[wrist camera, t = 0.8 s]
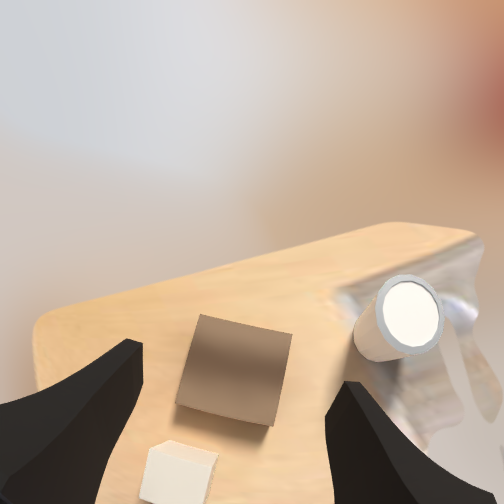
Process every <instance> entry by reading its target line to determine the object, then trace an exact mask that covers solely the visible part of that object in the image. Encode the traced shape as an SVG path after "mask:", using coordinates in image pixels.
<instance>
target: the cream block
mask: <svg viewBox="0 0 504 504" xmlns="http://www.w3.org/2000/svg"><path fill="white" fill-rule="evenodd" d="M218 456H219V454H218V453H214V452H210V451H206V450H202V449H199V448H195V447H191V446H188V445H184V444H181V443H178V442H175V441H171V440H169V441H166V442H164V443H161V444H159V445H157V446H154V447H152V448H150V450H149V454H148V458H147V463H146V467H145V471H144V476H143V480H142V485H141V490H140V494H139V498H140V499H143V500H146V501H148V502H151V503H154V504H205V503H206V501H207V498H208V496H209V492H210V488H211V484H212V480H213V476H214V472H215V468H216V464H217V460H218Z"/></svg>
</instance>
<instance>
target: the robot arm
mask: <svg viewBox="0 0 504 504" xmlns="http://www.w3.org/2000/svg"><path fill="white" fill-rule="evenodd" d="M142 385H143V343H141V342H137V341H134V340H131V339H125V340H123V341H122V342H121V343H119V344H118V345H116V346H115V347H113V348H112V349H111V350H109V351H108V352H106V353H105V354H104V355H102V356H101V357H99V358H98V359H96V360H95V361H93V362H92V363H90V364H89V365H87V366H86V367H84V368H83V369H81V370H80V371H78V372H76V373H74V374H73V375H71V376H69V377H68V378H66V379H64V380H62V381H61V382H59V383H57V384H55V385H53V386H51V387H49V388H46V389H44V390H42V391H40V392H37V393H35V394H32V395H29V396H26V397H24V398H21V399H18V400H15V401H12V402H8V403H4V404H0V504H95V500H96V497H97V493H98V490H99V487H100V483H101V480H102V477H103V474H104V471H105V468H106V465H107V462H108V459H109V457H110V455H111V453H112V450H113V448H114V446H115V444H116V442H117V440H118V438H119V436H120V434H121V433H122V431H123V429H124V427H125V425H126V423H127V421H128V419H129V417H130V415H131V413H132V411H133V409H134V407H135V405H136V402H137V399H138V397H139V394H140V391H141V388H142ZM325 435H326V445H327V451H328V457H329V463H330V469H331V475H332V481H333V487H334V499H335V504H497V502H496V500H495V497H494V495H493V494H492V493H490V492H487V491H485V490H482V489H479V488H477V487H475V486H472V485H470V484H468V483H467V482H465V481H463V480H461V479H459V478H457V477H455V476H454V475H452V474H450V473H449V472H448V471H446V470H445V469H443V468H442V467H440V466H439V465H437V464H436V463H435V462H433V461H432V460H431V459H430V458H428V457H427V456H426V455H425V454H424V453H423V452H422V451H420V450H419V449H418V448H417V447H416V446H415V445H414V444H413V443H412V442H411V441H410V440H409V439H408V438H407V437H406V436H405V435H404V434H403V433H402V432H401V431H400V430H399V429H398V427H397V426H396V425H395V424H394V423H393V422H392V421H391V419H390V418H389V417H388V416H387V415H386V413H385V412H384V411H383V410H382V409H381V407H380V406H379V405H378V404H377V403H376V401H375V400H374V399H373V398H372V396H371V395H370V394H369V393H368V391H367V390H366V389H365V388H364V387H363V386H362V384H361V383H360V382H350V381H344V383H343V385H342V387H341V389H340V391H339V393H338V394H337V396H336V398H335V400H334V402H333V403H332V405H331V407H330V409H329V410H328V412H327V414H326V416H325Z"/></svg>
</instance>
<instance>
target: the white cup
mask: <svg viewBox="0 0 504 504" xmlns="http://www.w3.org/2000/svg"><path fill="white" fill-rule="evenodd" d="M444 319H445V316H444V311H443V306H442V302H441V300H440V298H439V297H438V295H437V293H436V291H435V290H434V289H433V288H432V287H431V286H430V285H429V284H428V283H427V282H426V281H425V280H423V279H421V278H418V277H416V276H413V275H397V276H395V277H393V278H391V279H389V280H387V281H386V282H385V284H384V285H383V287H382V288H381V289H380V291H379V292H378V293H377V295H376V296H375V297H374V299H373V300H372V301H371V303H370V304H369V305H368V307H367V308H366V309H365V311H364V312H363V313H362V314H361V316H360V317H359V318H358V319H357V321H356V323H355V327H354V330H353V335H354V343H355V345H356V347H357V349H358V351H359V352H360V353H361V354H362V355H363V356H364V357H365V358H366V359H368V360H371V361H374V362H383V361H389V360H395V359H399V358H404V357H409V356H413V355H418V354H422V353H426V352H427V351H428V350H430V349H431V348H432V347H434V346H435V345H436V344H437V342H438V340H439V338H440V336H441V335H442V333H443V327H444Z"/></svg>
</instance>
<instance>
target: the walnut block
mask: <svg viewBox="0 0 504 504" xmlns="http://www.w3.org/2000/svg"><path fill="white" fill-rule="evenodd" d="M291 339H292V334H289V333H284V332H279V331H274V330H269V329H264V328H259V327H254V326H250V325H245V324H241V323H236V322H232V321H227V320H223V319H219V318H214V317H210V316H206V315H202V314H200V315H199V319H198V322H197V326H196V329H195V333H194V336H193V340H192V343H191V347H190V350H189V354H188V357H187V361H186V365H185V368H184V372H183V376H182V379H181V383H180V387H179V390H178V394H177V398H176V402H175V403H176V404H180V405H183V406H186V407H190V408H193V409H197V410H200V411H204V412H208V413H212V414H216V415H220V416H224V417H228V418H233V419H237V420H242V421H246V422H251V423H256V424H262V425H267V426H274V421H275V417H276V413H277V408H278V403H279V399H280V394H281V389H282V385H283V380H284V375H285V370H286V365H287V360H288V355H289V349H290V344H291Z"/></svg>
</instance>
